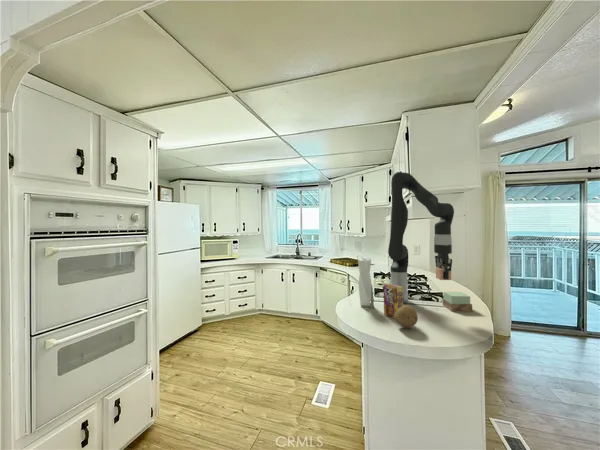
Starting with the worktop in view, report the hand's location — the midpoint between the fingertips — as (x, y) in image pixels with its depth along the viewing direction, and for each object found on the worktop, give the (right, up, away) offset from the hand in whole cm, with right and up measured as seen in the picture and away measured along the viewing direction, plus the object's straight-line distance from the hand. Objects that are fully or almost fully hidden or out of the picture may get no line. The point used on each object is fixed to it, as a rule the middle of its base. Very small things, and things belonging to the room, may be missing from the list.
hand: (443, 277), depth 125 cm
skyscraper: (-34, -19, +18) cm, 43 cm away
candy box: (-25, -19, 0) cm, 31 cm away
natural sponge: (-24, -19, -15) cm, 34 cm away
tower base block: (+12, -18, +9) cm, 24 cm away
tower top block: (+12, -14, +9) cm, 21 cm away
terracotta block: (0, 0, 0) cm, 0 cm away
